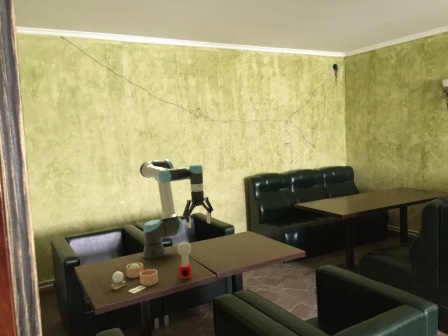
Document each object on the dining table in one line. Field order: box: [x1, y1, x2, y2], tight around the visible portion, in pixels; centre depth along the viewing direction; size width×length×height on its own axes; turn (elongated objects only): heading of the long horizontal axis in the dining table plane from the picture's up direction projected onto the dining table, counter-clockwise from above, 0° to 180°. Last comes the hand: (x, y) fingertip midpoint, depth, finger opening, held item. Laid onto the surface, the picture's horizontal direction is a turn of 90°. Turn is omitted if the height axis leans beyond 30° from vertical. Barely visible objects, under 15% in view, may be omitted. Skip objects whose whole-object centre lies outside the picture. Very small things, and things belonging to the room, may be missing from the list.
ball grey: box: [112, 270, 125, 283], centre depth 201 cm, size 6×6×6 cm
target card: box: [128, 284, 147, 294], centre depth 197 cm, size 5×8×1 cm, turn 142°
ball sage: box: [130, 264, 140, 268], centre depth 218 cm, size 6×6×6 cm
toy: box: [176, 241, 193, 279], centre depth 211 cm, size 8×8×20 cm
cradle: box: [111, 280, 127, 290], centre depth 202 cm, size 3×7×3 cm, turn 142°
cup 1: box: [125, 262, 145, 279], centre depth 218 cm, size 9×9×6 cm
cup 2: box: [139, 268, 159, 287], centre depth 205 cm, size 9×9×6 cm
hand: (199, 225), depth 222 cm, fingers open, 13 cm apart
